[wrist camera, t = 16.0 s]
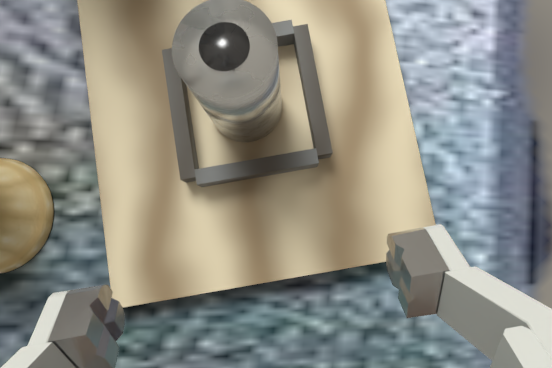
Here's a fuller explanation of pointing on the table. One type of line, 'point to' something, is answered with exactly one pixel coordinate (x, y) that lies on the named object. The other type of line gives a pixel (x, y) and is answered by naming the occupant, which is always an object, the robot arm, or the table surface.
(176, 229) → the hub board
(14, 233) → the hand bell
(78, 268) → the table surface
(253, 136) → the sleeve
